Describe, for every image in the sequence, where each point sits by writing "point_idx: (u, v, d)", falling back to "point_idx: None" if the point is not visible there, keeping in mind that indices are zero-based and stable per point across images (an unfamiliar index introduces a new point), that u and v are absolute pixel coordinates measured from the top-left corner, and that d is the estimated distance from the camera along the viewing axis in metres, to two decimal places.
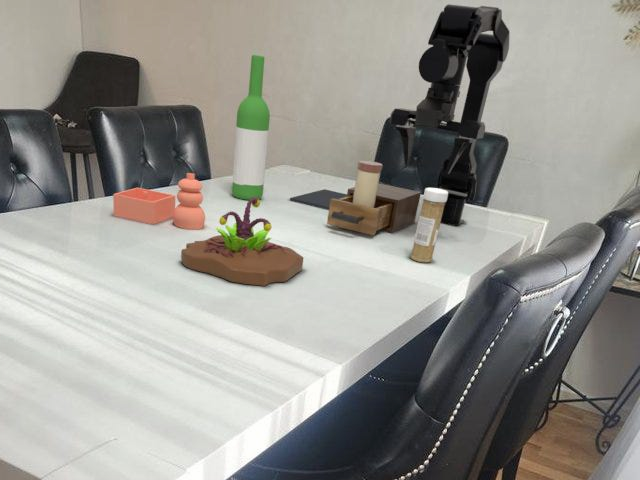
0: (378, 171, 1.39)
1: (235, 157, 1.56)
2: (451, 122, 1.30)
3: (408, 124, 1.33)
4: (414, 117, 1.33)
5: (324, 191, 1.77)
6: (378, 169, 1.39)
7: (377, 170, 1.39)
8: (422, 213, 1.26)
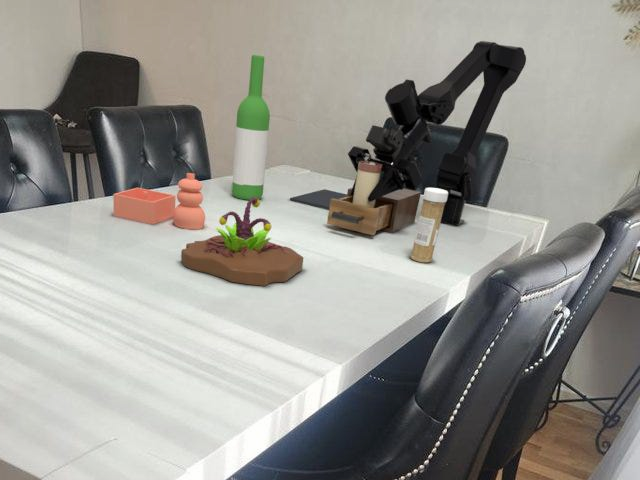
0: (378, 171, 1.39)
1: (235, 157, 1.56)
2: (395, 165, 1.41)
3: None
4: None
5: (324, 191, 1.77)
6: (378, 169, 1.39)
7: (377, 170, 1.39)
8: (422, 213, 1.26)
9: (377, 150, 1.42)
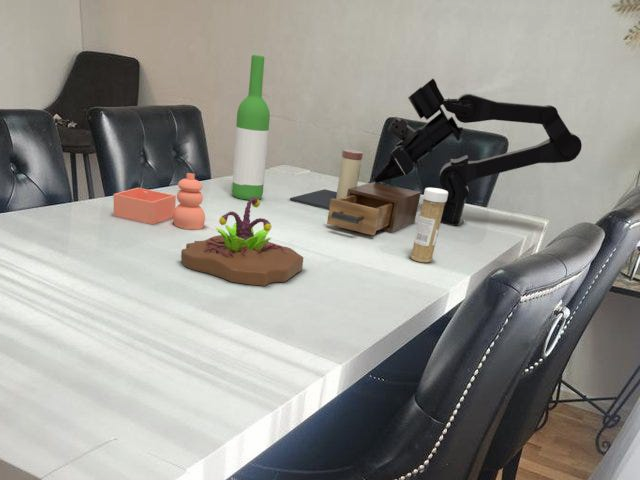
0: (351, 157, 1.61)
1: (235, 157, 1.56)
2: None
3: None
4: None
5: (324, 191, 1.77)
6: (351, 156, 1.61)
7: (350, 156, 1.61)
8: (422, 213, 1.26)
9: None
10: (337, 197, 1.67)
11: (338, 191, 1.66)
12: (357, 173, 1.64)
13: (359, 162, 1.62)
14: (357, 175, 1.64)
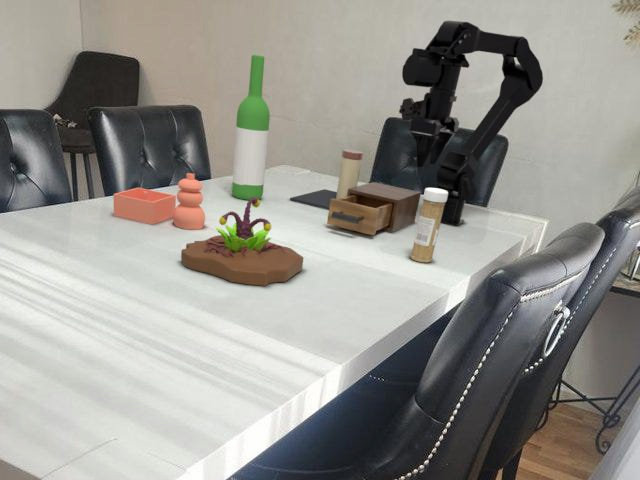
0: (351, 157, 1.61)
1: (235, 157, 1.56)
2: None
3: None
4: None
5: (324, 191, 1.77)
6: (351, 156, 1.61)
7: (350, 156, 1.61)
8: (422, 213, 1.26)
9: None
10: (337, 197, 1.67)
11: (338, 191, 1.66)
12: (357, 173, 1.64)
13: (359, 162, 1.62)
14: (357, 175, 1.64)
